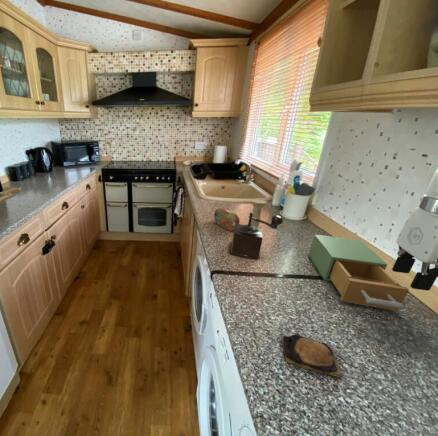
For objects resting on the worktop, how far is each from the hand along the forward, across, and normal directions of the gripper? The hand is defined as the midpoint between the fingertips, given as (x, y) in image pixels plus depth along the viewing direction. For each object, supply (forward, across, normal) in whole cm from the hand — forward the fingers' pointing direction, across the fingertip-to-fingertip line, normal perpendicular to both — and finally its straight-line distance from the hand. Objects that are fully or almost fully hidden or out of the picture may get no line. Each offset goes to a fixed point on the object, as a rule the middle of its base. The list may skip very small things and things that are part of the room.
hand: (409, 279), depth 56 cm
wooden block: (+14, -13, 0) cm, 19 cm away
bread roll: (+16, +14, -21) cm, 30 cm away
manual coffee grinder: (+16, -31, -29) cm, 45 cm away
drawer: (+15, -13, 0) cm, 19 cm away
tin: (+16, -54, -38) cm, 68 cm away
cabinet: (+16, -27, 0) cm, 31 cm away
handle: (+16, -52, -26) cm, 60 cm away
